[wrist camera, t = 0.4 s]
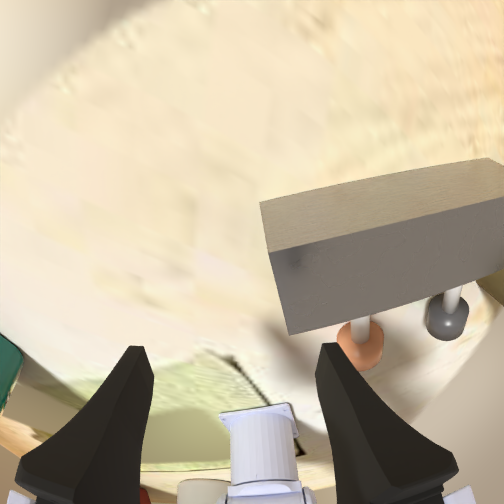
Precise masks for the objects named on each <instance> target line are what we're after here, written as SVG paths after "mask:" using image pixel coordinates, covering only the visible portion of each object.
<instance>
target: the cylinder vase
mask: <svg viewBox="0 0 504 504" xmlns="http://www.w3.org/2000/svg"><path fill="white" fill-rule="evenodd" d="M228 486H231V483H230V482H226V481H220V480H211V479H191V480H185V481H182V482H180V483H179V484H178V491H177V504H216V502H217V499H218V498H219V497H220V496H221V494H223V493H228Z"/></svg>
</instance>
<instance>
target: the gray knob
mask: <svg viewBox="0 0 504 504" xmlns="http://www.w3.org/2000/svg"><path fill="white" fill-rule="evenodd" d="M462 286H463V285H461V286H459V287H456V288H453V289H450V290H447V291H445V292H444V293H443V294H439V295H437V296H435V297H434V298H433V299H432V300H431V302H430V305H429V310H428V316H427V321H426V327H427V330H428V332H429V333H430V334H431V335H432V336H433V337H434V338H436V339H439V340H442V341H451V340H454V339H456V338H458V337H459V336H460V335H461V334H462V333H463V330H464V327H465V324H466V321H467V317H468V314H469V306H468V304H467V302H466V301H465V300H464V299H463V298H462V297H460V295H461V291H462Z"/></svg>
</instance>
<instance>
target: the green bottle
mask: <svg viewBox="0 0 504 504" xmlns="http://www.w3.org/2000/svg"><path fill="white" fill-rule="evenodd" d="M23 364H24V359H23V356H22V354H21V352H20V351H19V350H18V349H17V347H16V346H14V345H13V344H12V343H10V342H9V341H8V340H7V339H5V338H4V337H3V336H1V335H0V418H1V416H2V413H3V411H4V409H5V406H6V404H7V402H8V399H9V397H10V395H11V393H12V390H13V388H14V386H15V384H16V382H17V380H18V378H19V375H20V372H21V369H22V366H23Z"/></svg>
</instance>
